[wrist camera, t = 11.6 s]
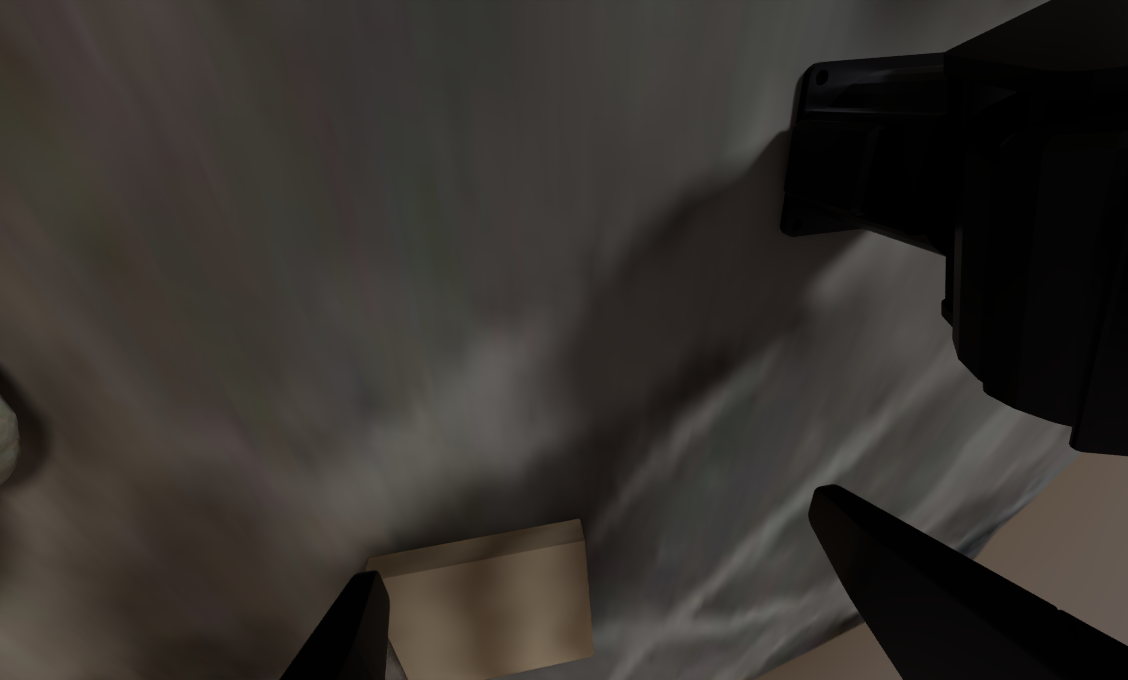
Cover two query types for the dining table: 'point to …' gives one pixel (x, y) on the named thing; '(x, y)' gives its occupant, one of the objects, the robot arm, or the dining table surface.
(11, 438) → the white eared plush toy
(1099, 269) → the robot arm
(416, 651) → the oak block
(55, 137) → the dining table surface
